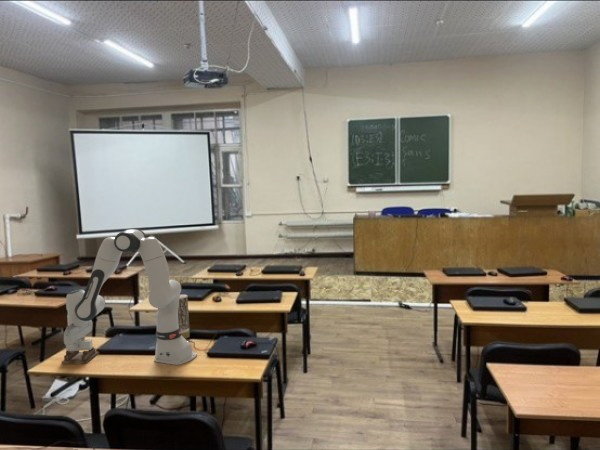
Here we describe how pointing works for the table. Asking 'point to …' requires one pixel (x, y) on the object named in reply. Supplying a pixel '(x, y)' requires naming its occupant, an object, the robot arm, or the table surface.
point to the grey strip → (81, 345)
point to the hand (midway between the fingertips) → (79, 346)
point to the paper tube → (183, 316)
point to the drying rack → (79, 356)
